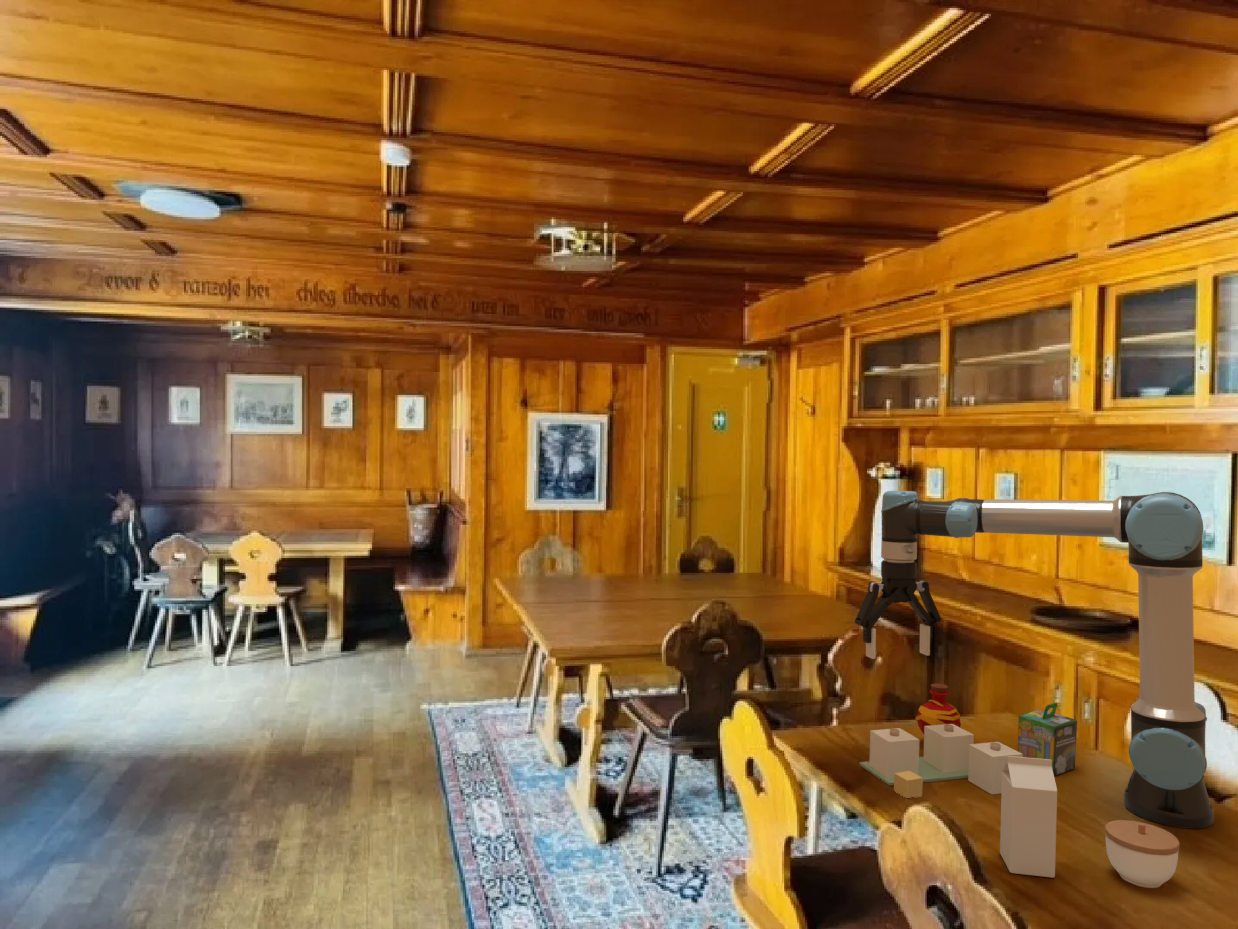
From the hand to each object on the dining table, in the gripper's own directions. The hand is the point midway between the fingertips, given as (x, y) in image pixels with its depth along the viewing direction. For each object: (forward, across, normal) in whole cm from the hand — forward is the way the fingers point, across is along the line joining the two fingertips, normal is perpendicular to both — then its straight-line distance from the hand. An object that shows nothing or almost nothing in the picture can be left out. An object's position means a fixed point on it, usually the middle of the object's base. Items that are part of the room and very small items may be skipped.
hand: (897, 656), depth 186 cm
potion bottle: (+27, +20, +12) cm, 35 cm away
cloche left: (+26, 0, 0) cm, 26 cm away
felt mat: (+26, +7, 0) cm, 27 cm away
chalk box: (+27, +37, -4) cm, 46 cm away
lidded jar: (+27, +15, -50) cm, 58 cm away
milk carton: (+27, -1, -42) cm, 50 cm away
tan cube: (+27, -4, -10) cm, 29 cm away
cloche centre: (+26, +14, 0) cm, 29 cm away
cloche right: (+27, +17, -10) cm, 33 cm away
